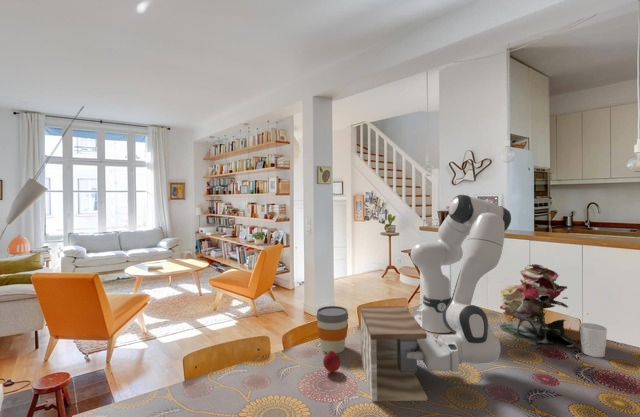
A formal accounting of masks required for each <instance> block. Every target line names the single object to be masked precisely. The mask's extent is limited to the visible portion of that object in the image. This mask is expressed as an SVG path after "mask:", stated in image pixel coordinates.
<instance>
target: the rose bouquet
mask: <svg viewBox="0 0 640 417" xmlns="http://www.w3.org/2000/svg"><path fill="white" fill-rule="evenodd" d="M526 265H527V266H525V267H524V270H520V275H522V277H523V279H520V283H521V284H520V285H517V284H515V285H514V284H513V285H507V286H506V287H504V288H503V289H502V290H501V291H500V297H501V299H500V302H502V304H501V305H500V307H499V308H500V309H501V310H504V311H503V312H502V314H504V315H506V316H511V318H509V319H508V322H507V321H505V322H502V323H501V325H500V326H499V327H500V329H501V330H503V331H504V332H506V333H507V334H510V335H511V336H513V337H515V339H516V340H520V339H521V340H524V341H525V342H527V343H528V344H530V345H534V346H537V345H538V344H539V343H541V344H547V345H555V344H556V343H555V342H552V341H550V340H549V339H548V336H551V337H555V338H558V339H563V340H564V341H565V342H568V343H570V345H566V347H568V348H569V347H570V348H576V349H578V350H579V349H580V348H581V346H580V345H579V344H578V343H575V340H574V339H572V338H571V337H568V336H566V334H565V327H564V324H565V323H564V322H565V321H567V320H566V319H563V318H562V319H558V320H554V321H552V322H548V323H546V321H545V320H546V319H545V318H546V317H545V316H546V313H547V311H545V309H550V308H556V305H557V306H558V307H564V308H566V309H567V308H569V306H568V305H567V304H566V303H564V302H562V301H558V300H555V299H557V297H559V296H560V295H561V293H562V292H564V291H565V290H567V289H568V286H566V285H565V286H564V285H559V284H558V283H556V281H557V280H558V278H559V276H560V275H559V274H558V273H557V272H556V271H554V270H553V269H549V268H548V267H545V266H544V265H543V264H542V265H541V264H538V263H532V264H526ZM562 299H564V300H567V299H569V298H568V297H562ZM586 314H587V315H589V313H588V312H587V313H586ZM515 318H517V319H518V323H512V322H513V321H514V320H513V319H515ZM525 321H526V322H528V323H529V324H530V325H528V324H524V323H523V322H525ZM534 332H535V334H534ZM569 335H570V334H569ZM540 339H541V340H540ZM529 340H530V341H529Z"/></svg>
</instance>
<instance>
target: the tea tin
mask: <svg viewBox="0 0 640 417" xmlns="http://www.w3.org/2000/svg"><path fill="white" fill-rule="evenodd" d="M406 351H412V352H417V339H397V365H398V367H399V370H400V372H401V373H413V372H414V373H418V360H416V359H413V358H407V356H406Z"/></svg>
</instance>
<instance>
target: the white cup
mask: <svg viewBox="0 0 640 417" xmlns="http://www.w3.org/2000/svg"><path fill="white" fill-rule="evenodd" d="M607 329H608V328H607V327H605V326H603V325H601V324H597V323H593V322H592V323H591V322H582V323H579V337H580V345H581V346H580V348H581V352H582V353H583V354H584V355H587V356H589V357H593V358H604V357H605V356H606V355H605V354H606V348H607V347H606V346H607V332H608V330H607Z"/></svg>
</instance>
